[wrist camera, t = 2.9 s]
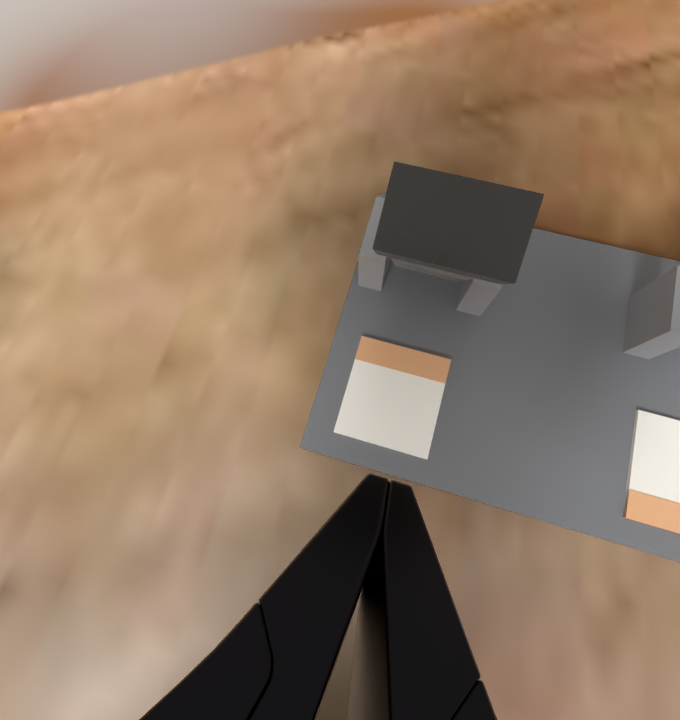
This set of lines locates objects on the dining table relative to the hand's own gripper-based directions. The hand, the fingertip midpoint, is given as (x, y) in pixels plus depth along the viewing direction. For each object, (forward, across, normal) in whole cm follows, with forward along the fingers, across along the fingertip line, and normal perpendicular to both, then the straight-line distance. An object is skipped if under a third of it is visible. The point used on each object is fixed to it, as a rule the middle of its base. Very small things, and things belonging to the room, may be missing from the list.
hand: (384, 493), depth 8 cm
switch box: (+14, -6, +4) cm, 16 cm away
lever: (+14, 0, -1) cm, 14 cm away
